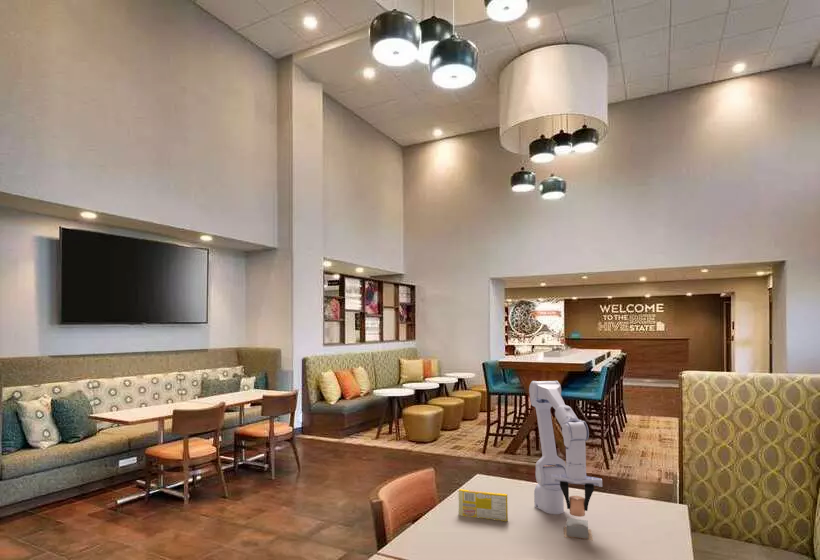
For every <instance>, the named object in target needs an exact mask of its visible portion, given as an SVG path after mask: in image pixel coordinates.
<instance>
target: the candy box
mask: <svg viewBox="0 0 820 560" xmlns="http://www.w3.org/2000/svg"><path fill="white" fill-rule="evenodd" d="M460 515H461V516H462V517H467V516H469V517H468V518H475V517H479V518H478V519H483V518H486V519H485V520H490V519H495V520H494V521H498V520H501V521H500V522H506V521H507V522H508V520H509V517H508V516H509V515H508V494H507V493H500V492H493V491H492V492H490V491H489V492H488V491H482V490H481V491H480V490H471V489H462V488H460V489H458V516H460Z"/></svg>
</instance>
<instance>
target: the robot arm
mask: <svg viewBox="0 0 820 560" xmlns="http://www.w3.org/2000/svg"><path fill="white" fill-rule="evenodd" d="M528 387H529V388H528V393H529V400H530V405H531V406H532V407H534V408H535V413H536V418H537V426H538V432H539V434H538V435H539V441H540V447H541V454H542V456H541V457H540V458H539V459H538V460H537V461H536V463H535V479H536V482H537V484H536V485H535V487H534V493H533V496H534V497H533V498H534V508H536V509H539V510H541V511H542V512H544V513H546V514H550V515H560V514H563V513H564V512H565V506H564V505H565V503H564V502H566V509H567V510H570V504H569V497H570V496H569V495H570V492H569V491H570V490H569V487H570V486H569V484H572V485H573V484H574V485H583V486H584V499H585V512H588V511H589V510H588V508H589V502H590V500H591V497H592V495H593V493H594V490H595V487H596V486H597V487H598V488H599V487H600V488H602V487H603V479H602V478H599V477H595V476H588V475H587V457H586V456H587V455H586V454H587V453H586V449H587V447H586V442H587V441H588V440H589V436H590V432H589V431H590V430H589V427H588V424H587V422H586V421H585V420H582V419H579V418H578V416H577V415H576V413H575V412H574V410H573V409H572V407H571V406H569V405H566V404H565V401H564V399H563V396H562V386H561V383H560V382H559V381H558V380H541V381H540V380H538V381H537V380H532V381H531V382H530V384H529V386H528ZM551 408H553V409H554V416H555V418H556V419H557V422H558V423H559V425H560V427H561V434H562V437H563V444H564V446H565V460H564V459H562V458H561V457H560V456H558V452H557V448H556V447H557V446H556V439H555V433H554V427H553V421H552V414H551V413H552V412H551ZM565 461H566V462H565ZM564 499H565V501H564Z"/></svg>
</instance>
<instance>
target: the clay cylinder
mask: <svg viewBox="0 0 820 560" xmlns="http://www.w3.org/2000/svg"><path fill="white" fill-rule="evenodd" d="M569 504H570V509H569V514H570V515H572V517H585V516H586V511H585V497H583V496H580V495H579V496H578V495H571V496H569Z"/></svg>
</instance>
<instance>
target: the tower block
mask: <svg viewBox="0 0 820 560" xmlns="http://www.w3.org/2000/svg"><path fill="white" fill-rule="evenodd" d="M566 527H567V536H570V537H578V538H585V539H588V529H589V521H588V520H585V519H577V518H571V517H570V518H569V517H567V518H566Z"/></svg>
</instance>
